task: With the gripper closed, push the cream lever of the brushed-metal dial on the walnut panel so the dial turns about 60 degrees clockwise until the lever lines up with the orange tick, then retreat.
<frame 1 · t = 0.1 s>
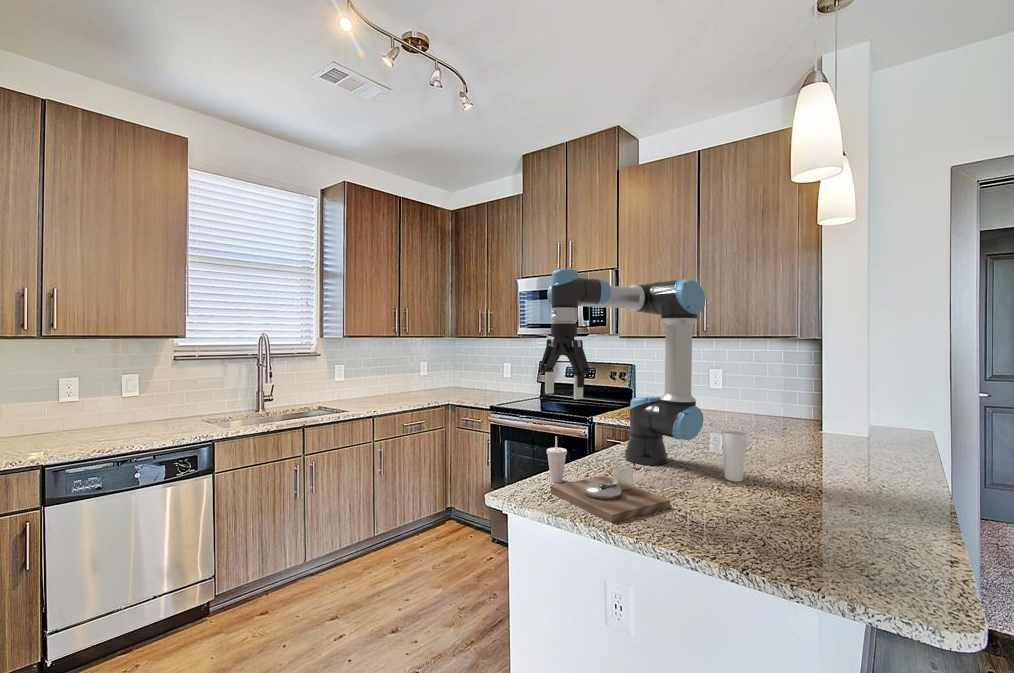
hand: (563, 396, 139), 28 cm above the counter, fingers open, 13 cm apart
drinking glass: (733, 480, 153), on the counter
smoothie: (556, 481, 150), on the counter
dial: (610, 480, 133), point 5 cm above the counter, hinge at 0.0°
panel: (608, 499, 133), on the counter
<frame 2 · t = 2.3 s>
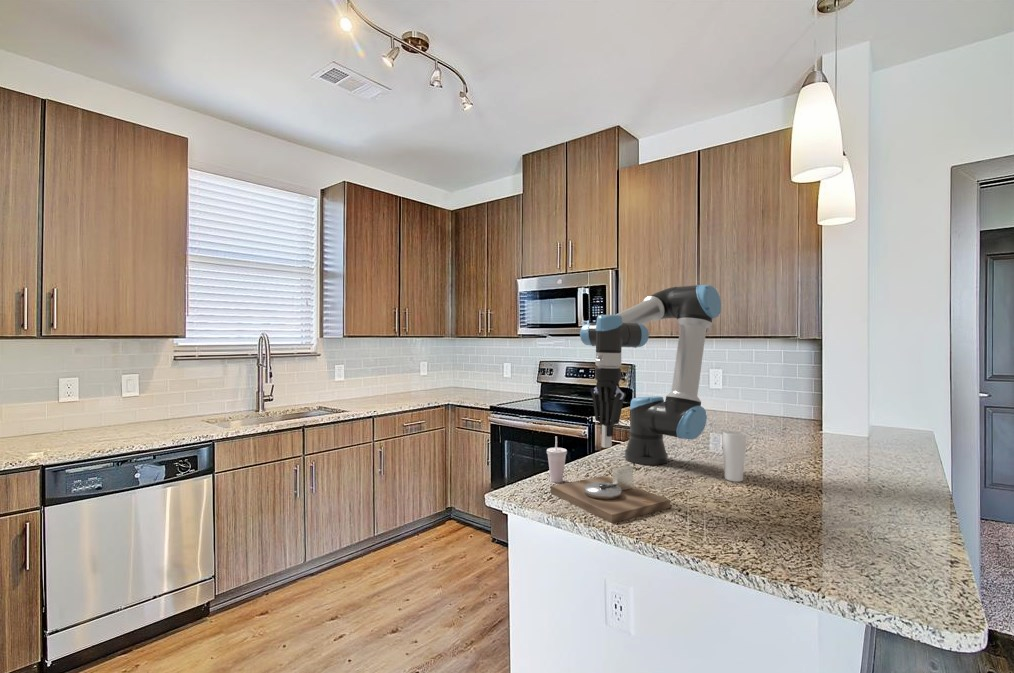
hand: (606, 446, 142), 13 cm above the counter, fingers closed
nothing on the counter moved.
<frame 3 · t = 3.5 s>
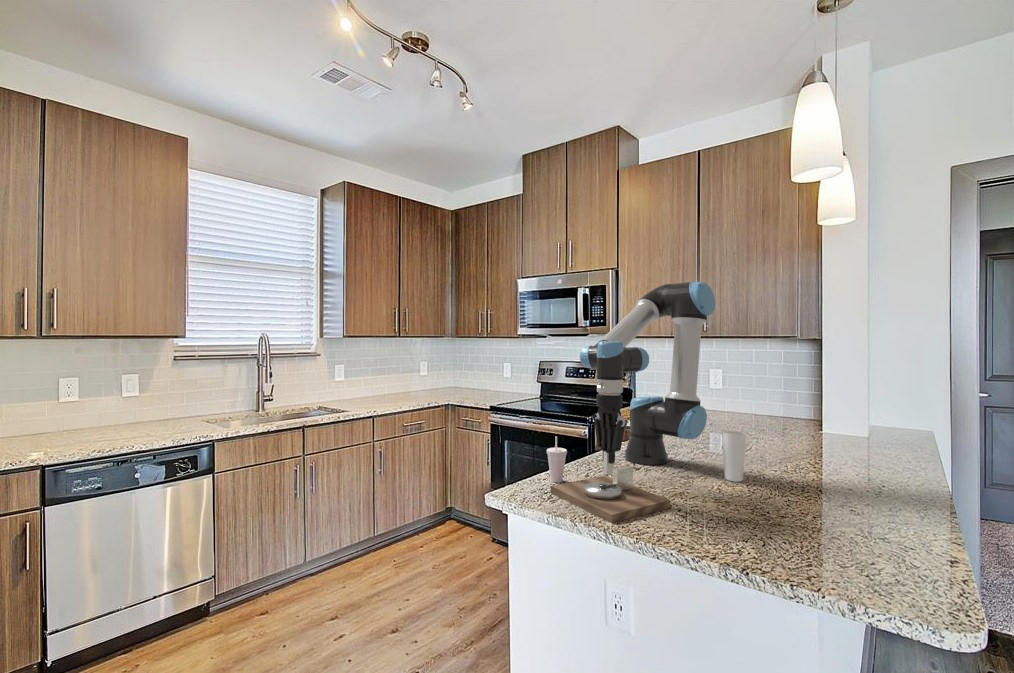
hand: (608, 473, 141), 5 cm above the counter, fingers closed
nothing on the counter moved.
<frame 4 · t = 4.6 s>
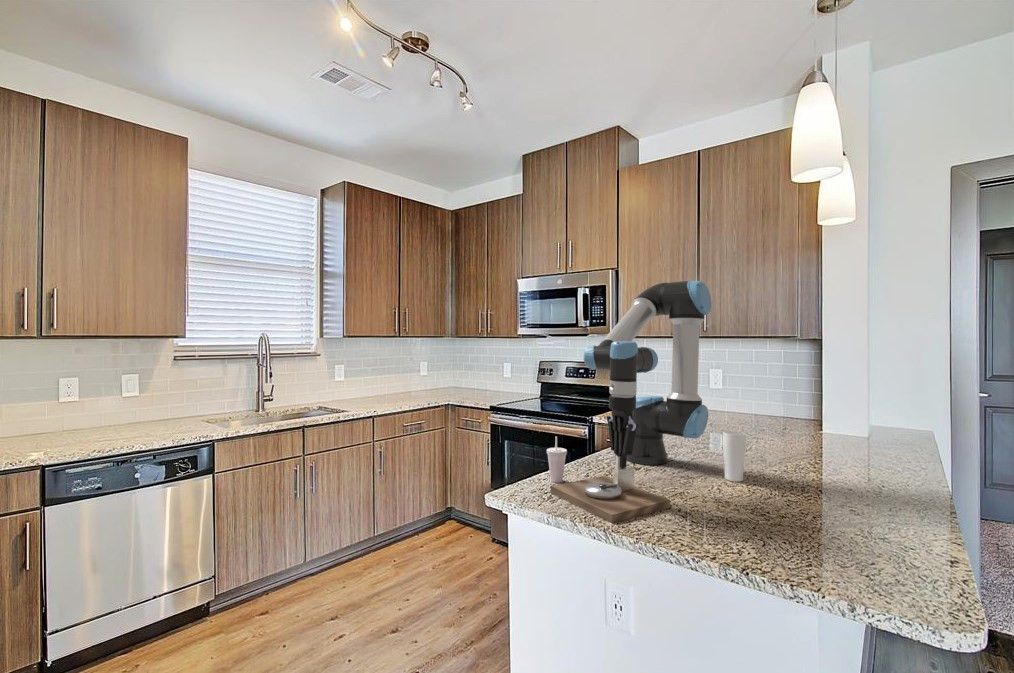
hand: (620, 477, 137), 5 cm above the counter, fingers closed
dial: (610, 481, 133), point 5 cm above the counter, hinge at -3.2°, touching gripper
everything else where it was.
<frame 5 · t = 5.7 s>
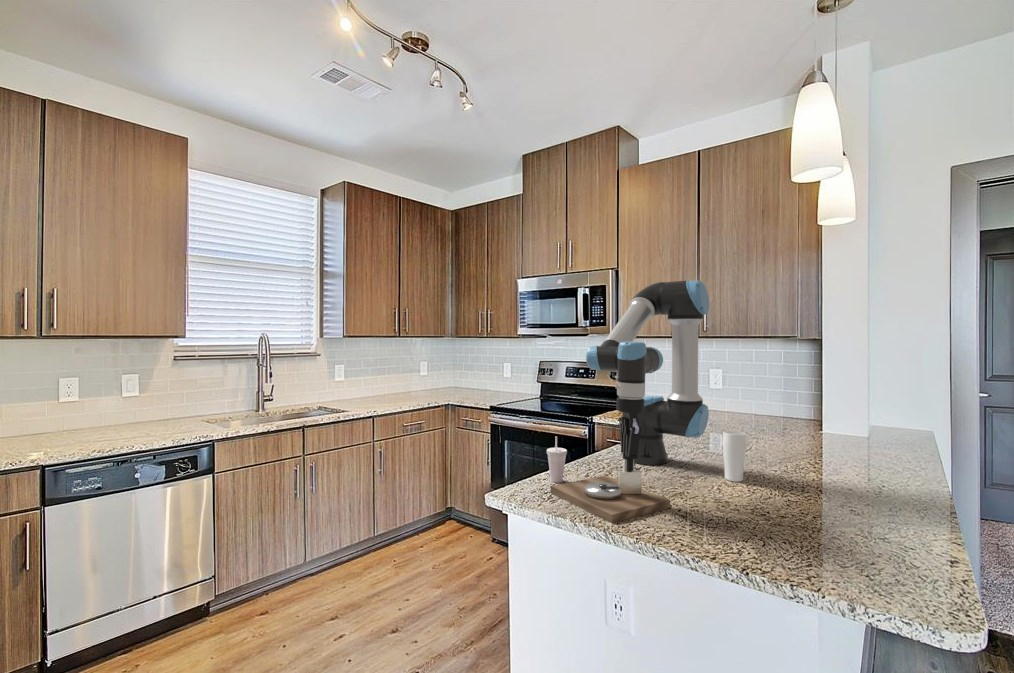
hand: (628, 481, 134), 5 cm above the counter, fingers closed
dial: (612, 482, 132), point 5 cm above the counter, hinge at -27.6°, touching gripper
everything else where it was.
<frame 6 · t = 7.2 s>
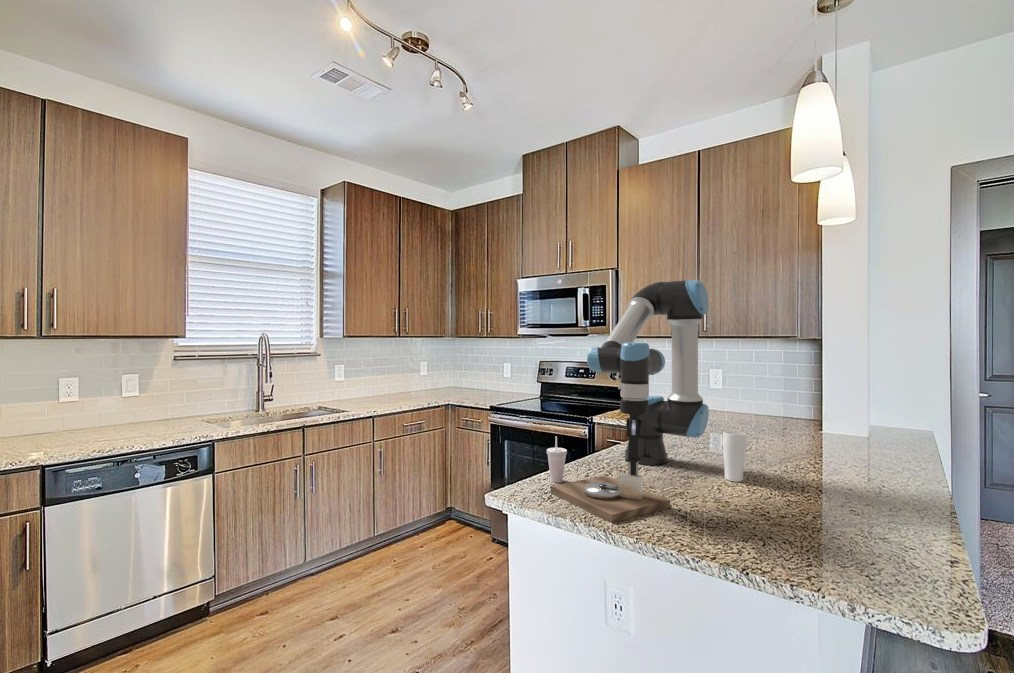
hand: (633, 484, 131), 5 cm above the counter, fingers closed
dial: (612, 483, 131), point 5 cm above the counter, hinge at -55.2°
everything else where it was.
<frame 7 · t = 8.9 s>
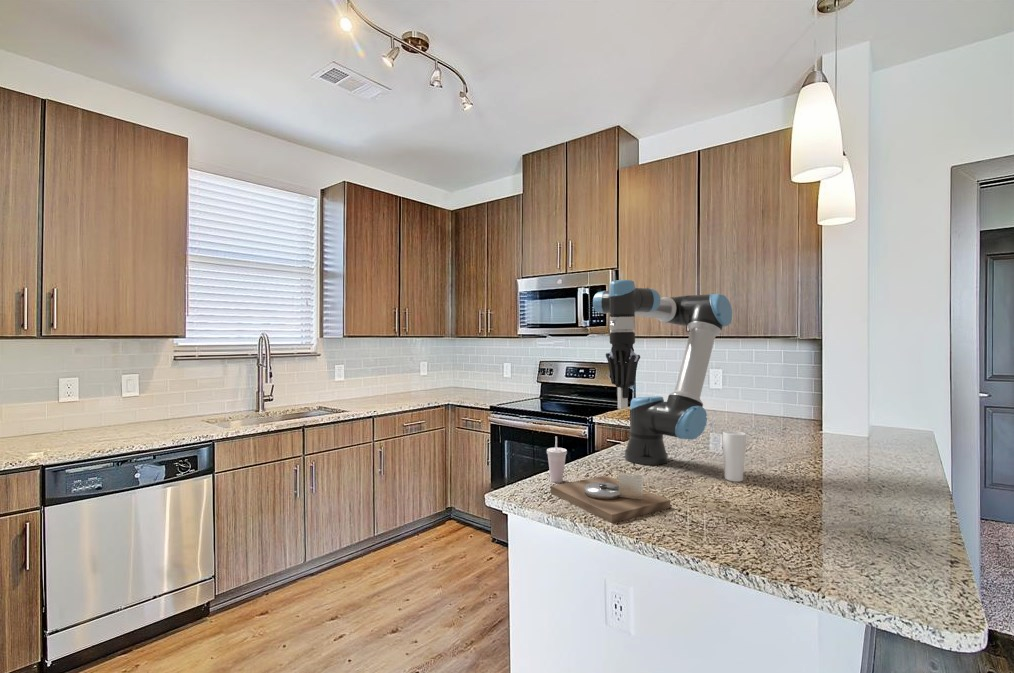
hand: (622, 408, 147), 23 cm above the counter, fingers closed
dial: (612, 483, 131), point 5 cm above the counter, hinge at -54.8°
everything else where it was.
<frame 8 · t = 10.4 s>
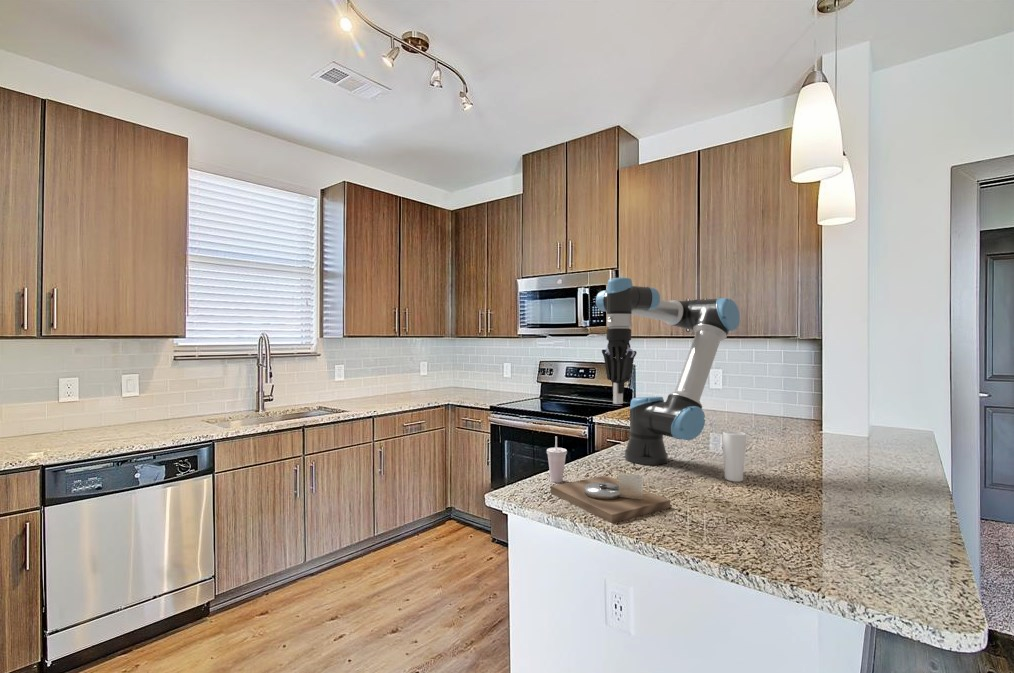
hand: (617, 403, 150), 24 cm above the counter, fingers closed
nothing on the counter moved.
at the end: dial at -55° (first picture: +0°) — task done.
